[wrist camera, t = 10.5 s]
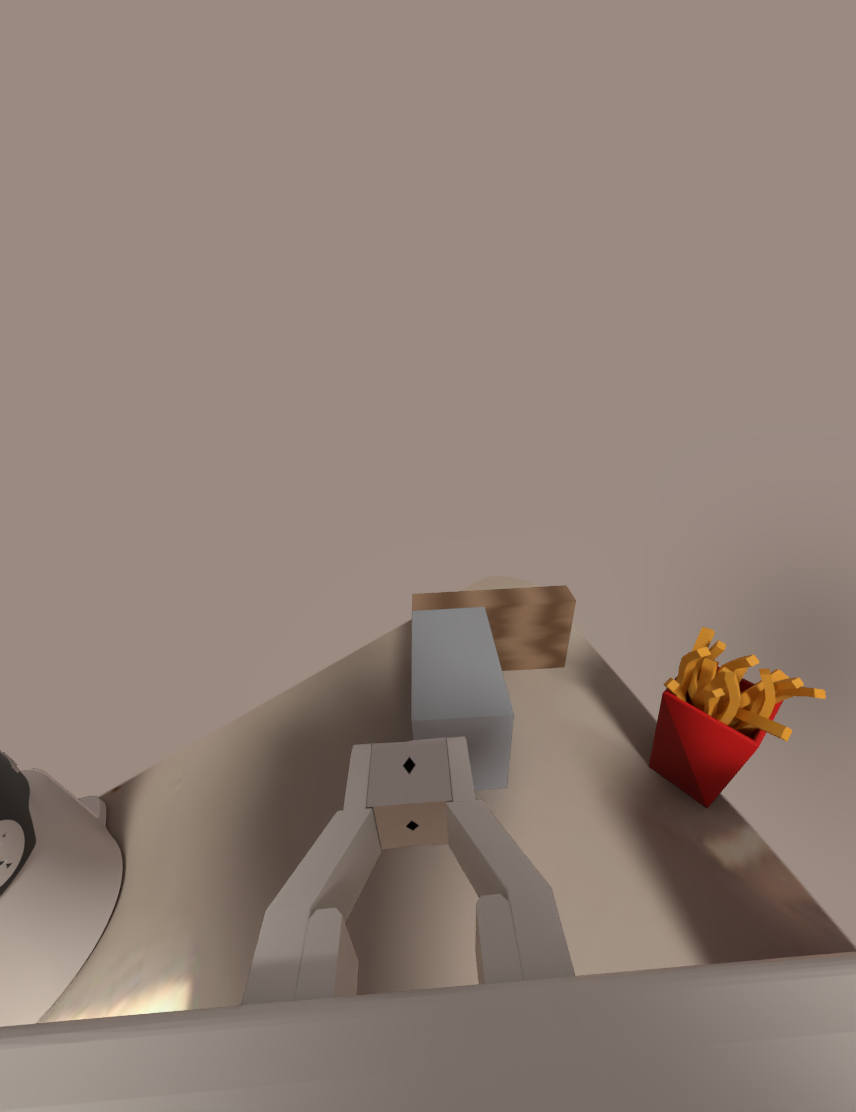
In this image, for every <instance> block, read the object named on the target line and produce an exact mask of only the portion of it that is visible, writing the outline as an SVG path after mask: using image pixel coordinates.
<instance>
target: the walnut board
mask: <svg viewBox="0 0 856 1112" xmlns="http://www.w3.org/2000/svg"><path fill="white" fill-rule="evenodd" d="M412 595H413V596H412V611H420V610H438V609H456V608H473V607H485V610H486V614H487V617H488V621H489V625H490V629H491V632H492V636H493V640H494V643H495V647H496V651H497V654H498V658H499V662H500V665H501V669H502V671H506V670H524V669H541V668H558V667H564V666H565V660H566V655H567V649H568V643H569V637H570V632H571V626H572V620H573V614H574V609H575V603H576V600H575V598H574V597H573V595H572V594H571V592H570V590H569V589H568V587H567V586H549V587H531V588H513V589H495V590H477V591H460V592H442V593H424V594H412Z"/></svg>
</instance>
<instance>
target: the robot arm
mask: <svg viewBox="0 0 856 1112" xmlns="http://www.w3.org/2000/svg"><path fill="white" fill-rule="evenodd" d="M16 766H17V764H16V763H15V762H14V761H13V760H12V759H11V758H10V757H9V756H8V755H6V754H5V753H4V752H3V753H2V752H1V751H0V1112H856V951H853V952H841V953H830V954H819V955H807V956H796V957H785V958H773V959H762V960H751V961H739V962H728V963H717V964H705V965H694V966H683V967H671V968H660V969H649V970H637V971H626V972H615V973H603V974H592V975H581V976H575V973H574V969H573V965H572V962H571V958H570V954H569V951H568V947H567V943H566V939H565V936H564V932H563V928H562V925H561V921H560V917H559V913H558V910H557V906H556V902H555V899H554V895H553V891H552V888H551V887H550V885H549V884H548V883H547V882H546V880H545V879H544V878H543V877H542V875H541V874H540V873H539V871H538V870H537V869H536V868H535V866H534V865H533V864H532V863H531V861H530V860H529V859H528V858H527V856H526V855H525V854H524V853H523V851H522V850H521V849H520V847H519V846H518V845H517V844H516V842H515V841H514V840H513V839H512V837H511V836H510V835H509V834H508V832H507V831H506V830H505V829H504V827H503V826H502V825H501V823H500V822H499V821H498V820H497V818H496V817H495V816H494V815H493V813H492V812H491V811H490V810H489V808H488V807H487V806H486V805H485V803H484V802H483V801H482V800H481V799H477V800H476V799H475V792H474V786H473V779H472V773H471V766H470V760H469V753H468V747H467V740H466V738H465V736H461V737H451V738H446V737H444V738H433V739H422V740H412V741H407V742H390V743H374V744H373V743H371V744H358V745H354V746H353V748H352V751H351V758H350V765H349V772H348V779H347V786H346V793H345V800H344V807H343V810H340V811H337V812H336V813H335V815H334V816H333V817H332V819H331V820H330V822H329V823H328V824H327V826H326V827H325V829H324V830H323V831H322V833H321V834H320V836H319V837H318V838H317V840H316V841H315V843H314V844H313V845H312V847H311V848H310V850H309V851H308V852H307V854H306V855H305V857H304V858H303V859H302V861H301V862H300V864H299V865H298V866H297V868H296V869H295V871H294V872H293V873H292V875H291V876H290V878H289V879H288V880H287V882H286V883H285V885H284V886H283V887H282V889H281V890H280V892H279V893H278V894H277V896H276V897H275V899H274V900H273V901H272V903H271V904H270V906H269V907H268V908H267V910H266V911H265V915H264V919H263V923H262V926H261V930H260V934H259V938H258V942H257V946H256V950H255V953H254V957H253V961H252V965H251V969H250V973H249V977H248V981H247V984H246V988H245V992H244V996H243V1000H242V1004H241V1006H229V1007H218V1008H207V1009H195V1010H184V1011H173V1012H161V1013H150V1014H139V1015H127V1016H116V1017H105V1018H93V1019H82V1020H71V1021H59V1022H48V1023H36V1022H37V1021H38V1020H39V1019H40V1018H41V1017H42V1016H43V1015H44V1014H45V1013H46V1012H47V1010H48V1009H49V1008H50V1007H51V1006H52V1005H53V1003H54V1002H55V1001H56V1000H57V999H58V998H59V996H60V995H61V994H62V993H63V991H64V990H65V989H66V988H67V986H68V985H69V984H70V982H71V981H72V980H73V978H74V977H75V976H76V974H77V973H78V971H79V970H80V969H81V967H82V966H83V964H84V963H85V961H86V960H87V958H88V957H89V955H90V954H91V952H92V950H93V949H94V947H95V945H96V944H97V942H98V940H99V938H100V936H101V935H102V933H103V931H104V929H105V927H106V925H107V923H108V920H109V918H110V916H111V914H112V911H113V909H114V906H115V903H116V900H117V897H118V894H119V890H120V885H121V880H122V871H123V862H122V855H121V851H120V848H119V846H118V844H117V842H116V841H115V839H114V838H113V837H112V836H111V835H110V833H109V832H108V830H107V828H106V805H105V803H104V802H103V801H102V800H101V799H100V798H98V797H97V796H89V797H84V798H80V799H77V798H76V797H75V796H73V795H72V794H71V793H70V792H69V791H68V790H66V789H65V788H64V787H63V786H62V785H60V784H59V783H58V782H57V781H56V780H54V779H53V778H52V777H51V776H50V775H48V774H47V773H46V772H44V771H43V770H40V769H35V768H34V769H32V770H30V771H19V769H18V768H17V767H16ZM438 844H449V847H450V849H451V851H452V852H453V854H454V856H455V857H456V859H457V861H458V862H459V864H460V866H461V868H462V869H463V871H464V873H465V874H466V876H467V878H468V880H469V881H470V883H471V885H472V886H473V888H474V890H475V891H476V893H477V895H478V897H479V900H478V902H477V903H476V939H475V953H476V962H477V972H478V981H479V985H468V986H456V987H445V988H434V989H422V990H411V991H400V992H388V993H377V994H366V995H356V993H357V979H358V964H359V961H358V958H357V955H356V952H355V950H354V947H353V944H352V941H351V938H350V936H349V933H348V930H347V927H346V924H345V923H346V921H347V919H348V917H349V915H350V913H351V911H352V910H353V908H354V906H355V904H356V902H357V900H358V898H359V896H360V894H361V892H362V890H363V888H364V886H365V884H366V882H367V880H368V878H369V876H370V874H371V872H372V870H373V868H374V866H375V864H376V862H377V860H378V858H379V856H380V854H381V849H390V848H399V847H408V846H419V845H438ZM35 1023H36V1024H35Z"/></svg>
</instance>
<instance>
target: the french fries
mask: <svg viewBox="0 0 856 1112" xmlns="http://www.w3.org/2000/svg"><path fill="white" fill-rule="evenodd" d="M714 634H715V632H714V630H712V629H708V628H705V627H702V629H701V631H700V633H699V636H698V638H697V640H696V642H695V645H694V647H693V650H692V652H689V653H688V654H686V655H685V656H683V657H682V659H681V662H680V666H679V674H678V676H677V677H676V678H675V680H674V679H672V678H670V679H669V680H668V681H667V682H666V683H665V684H664V685H665V686H666V687H667V689H666V690H665V691H664V692H663V694H662V700H661V705H660V711H659V715H658V720H657V726H656V731H655V736H654V741H653V747H652V752H651V757H650V762H649V767H650V768H652V769H653V770H654V771H656V772H657V773H659V774H660V775H661V776H663V777H664V778H666V779H667V780H668V781H670V782H671V783H672V784H674V785H675V786H677V787H678V788H679V789H681V790H682V791H684V792H685V793H686V794H688V795H689V796H691V797H692V798H693V799H695V800H696V801H698V802H699V803H700V804H702V805H703V806H705V807H706V808H708V807H709V806H710V805H711V803H712V802H713V801H714V800H715V799H716V797H717V796H718V795H719V794H720V793H721V791H722V790H723V789H724V788H725V787H726V786H727V784H728V783H729V782H730V781H731V780H732V778H733V777H734V776H735V775H736V774H737V772H738V771H739V770H740V769H741V768H742V766H743V765H744V764H745V763H746V762H747V761H748V759H749V758H750V757H751V756H752V755H753V753H754V752H755V751H756V750H757V748H758V747H759V745H760V743H761V742H762V740H763V738H764V736H765V734H766V732H767V733H770V734H772V735H774V736H776V737H778V738H781V739H783V740H785V741H788V739H789V737H790V735H791V733H792V730H791V729H789V728H788V727H786V726H784V725H781V724H779V723H777V722H774V721H773V719H774V717H775V715H776V713H777V712H778V709H779V708H780V706H781V704H782V702H783V700H784V699H788V698H790V697H793V696H809V697H815V698H822V699H825V698H826V697H825V690H821V689H814V688H805V687H801V686H803V685H804V684H803V682H802V681H801V679H800V678H799V677H797V678H789V677H788V676H786V675H785V674H784V673H783V672H782V671H781V670H780V669H776V670H774V671H773V672H772V673H770V670H769V669H759V671H760V676H761V679H762V680H761V681H760V682H758V683H757V684H753V683H751V682H749V681H747V680H745V679H743V678H742V677H743V676H744V674H745V672H746V670H747V669H748V667H752V666H754V665H756V664H758V663H759V661H758V659H757V658H756V656H755V655H749V656H744V657H740V658H738V659H735V660H732V661H730V662H728V663H726V664H724V665H722V666H721V667H718V664H719V662H717V661H714V660H715V658H716V657H718V656H719V655H720V654H721V653H722V652H723V651H724V650H725V647H726V644H724V643H722V642H721V641H717V642H716V643H715V644H714V645H713V646H712V647H711V648H710V649H708V647H709V645H710V642H711V640H712V638H713V636H714ZM788 678H789V679H788Z"/></svg>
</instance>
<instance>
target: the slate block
mask: <svg viewBox="0 0 856 1112" xmlns="http://www.w3.org/2000/svg"><path fill="white" fill-rule="evenodd" d="M513 719H514V714H513V710H512V706H511V702H510V699H509V695H508V691H507V688H506V684H505V680H504V677H503V673H502V669H501V665H500V662H499V658H498V654H497V651H496V647H495V643H494V640H493V636H492V632H491V629H490V625H489V621H488V617H487V614H486V610H485V607H473V608H456V609H438V610H420V611H412V688H411V723H412V733H413V740H422V739H433V738H444V737H446V738H451V737H461V736H465V738H466V740H467V747H468V753H469V760H470V766H471V773H472V779H473V786H474V790H486V789H502V788H507V781H508V771H509V760H510V750H511V739H512V729H513Z"/></svg>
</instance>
